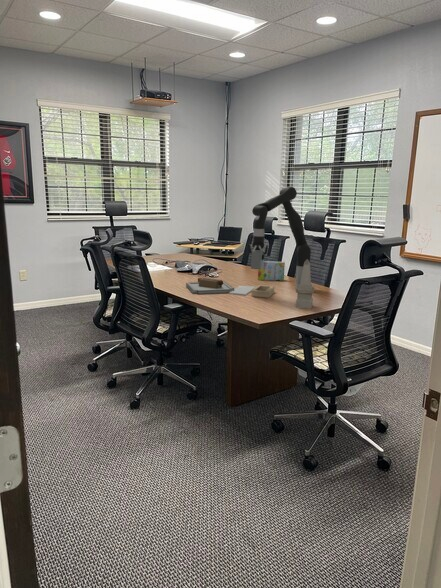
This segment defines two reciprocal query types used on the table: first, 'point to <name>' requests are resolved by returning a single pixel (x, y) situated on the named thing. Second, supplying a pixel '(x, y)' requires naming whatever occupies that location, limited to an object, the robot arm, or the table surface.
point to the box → (257, 260)
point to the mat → (242, 290)
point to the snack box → (272, 271)
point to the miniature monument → (305, 288)
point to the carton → (263, 291)
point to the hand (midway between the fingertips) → (257, 259)
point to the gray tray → (209, 286)
